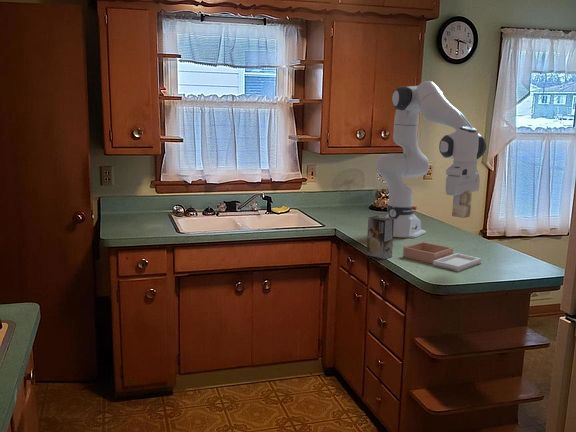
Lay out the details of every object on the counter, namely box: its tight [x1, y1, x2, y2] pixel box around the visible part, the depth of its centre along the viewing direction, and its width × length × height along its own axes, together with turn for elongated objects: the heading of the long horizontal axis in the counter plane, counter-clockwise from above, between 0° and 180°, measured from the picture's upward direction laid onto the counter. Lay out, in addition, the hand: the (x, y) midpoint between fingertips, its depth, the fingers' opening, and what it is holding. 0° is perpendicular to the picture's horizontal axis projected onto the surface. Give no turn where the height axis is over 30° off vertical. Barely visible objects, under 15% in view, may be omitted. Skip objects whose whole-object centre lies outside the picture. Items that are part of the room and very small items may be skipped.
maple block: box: [451, 191, 473, 219], centre depth 231 cm, size 5×5×10 cm
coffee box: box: [366, 215, 394, 260], centre depth 245 cm, size 9×6×16 cm
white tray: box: [432, 252, 482, 272], centre depth 236 cm, size 18×11×2 cm, turn 135°
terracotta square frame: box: [402, 241, 454, 264], centre depth 246 cm, size 15×15×4 cm
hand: (461, 204), depth 231 cm, fingers closed on maple block, 5 cm apart
